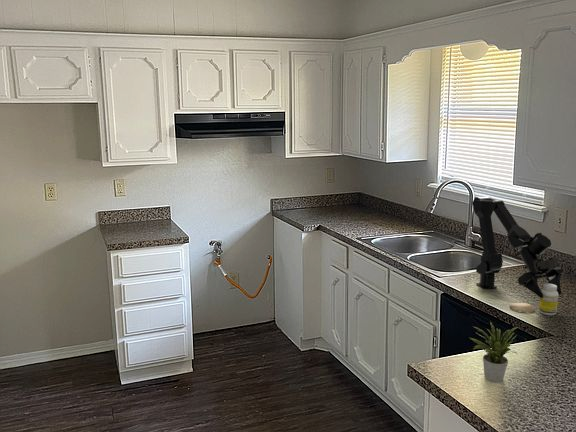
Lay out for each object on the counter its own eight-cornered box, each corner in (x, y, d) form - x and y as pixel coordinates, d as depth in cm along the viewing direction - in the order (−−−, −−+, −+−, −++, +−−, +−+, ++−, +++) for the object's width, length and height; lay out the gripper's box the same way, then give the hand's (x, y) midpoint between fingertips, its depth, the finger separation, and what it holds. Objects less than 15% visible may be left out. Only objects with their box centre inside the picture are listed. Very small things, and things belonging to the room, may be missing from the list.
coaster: (505, 305, 233) (505, 303, 233) (525, 303, 235) (525, 301, 235) (518, 313, 224) (518, 311, 224) (539, 311, 226) (539, 309, 226)
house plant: (491, 361, 184) (495, 312, 181) (530, 379, 173) (535, 327, 169) (460, 373, 176) (464, 322, 173) (498, 392, 165) (503, 338, 162)
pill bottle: (541, 308, 230) (544, 281, 227) (558, 312, 226) (561, 285, 224) (536, 313, 225) (539, 285, 223) (553, 317, 221) (556, 289, 219)
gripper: (526, 252, 221) (546, 289, 213) (562, 247, 228) (583, 283, 220) (509, 267, 230) (527, 302, 222) (544, 262, 237) (564, 296, 229)
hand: (551, 296), depth 223 cm, fingers open, 9 cm apart
